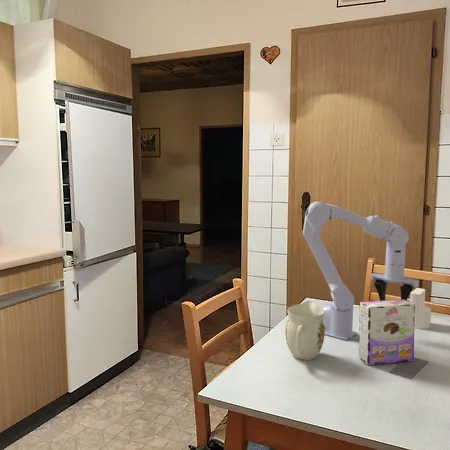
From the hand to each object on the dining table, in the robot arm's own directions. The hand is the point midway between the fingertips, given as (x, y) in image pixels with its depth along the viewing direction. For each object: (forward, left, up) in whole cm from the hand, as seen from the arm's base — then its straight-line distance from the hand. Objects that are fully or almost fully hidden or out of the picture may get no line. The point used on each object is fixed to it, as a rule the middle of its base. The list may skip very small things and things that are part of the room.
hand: (392, 305), depth 145 cm
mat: (+12, -20, -10) cm, 25 cm away
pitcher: (-13, -33, -11) cm, 37 cm away
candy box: (+6, -20, -10) cm, 23 cm away
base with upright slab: (+2, +18, -11) cm, 21 cm away
